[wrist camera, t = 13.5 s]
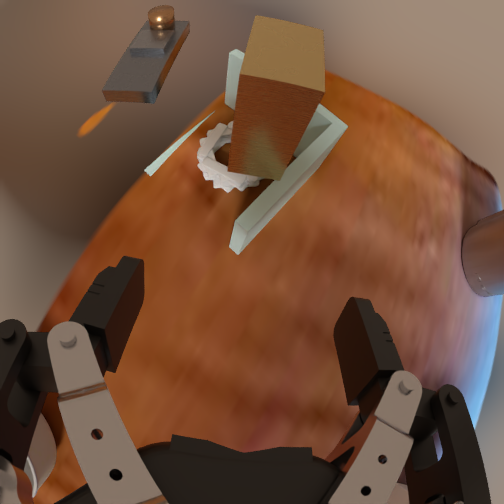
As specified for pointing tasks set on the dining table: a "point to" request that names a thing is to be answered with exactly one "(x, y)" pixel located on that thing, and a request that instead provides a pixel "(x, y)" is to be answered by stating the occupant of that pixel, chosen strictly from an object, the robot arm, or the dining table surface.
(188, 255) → the dining table surface
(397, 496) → the jar
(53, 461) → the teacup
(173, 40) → the body
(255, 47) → the lever cap
